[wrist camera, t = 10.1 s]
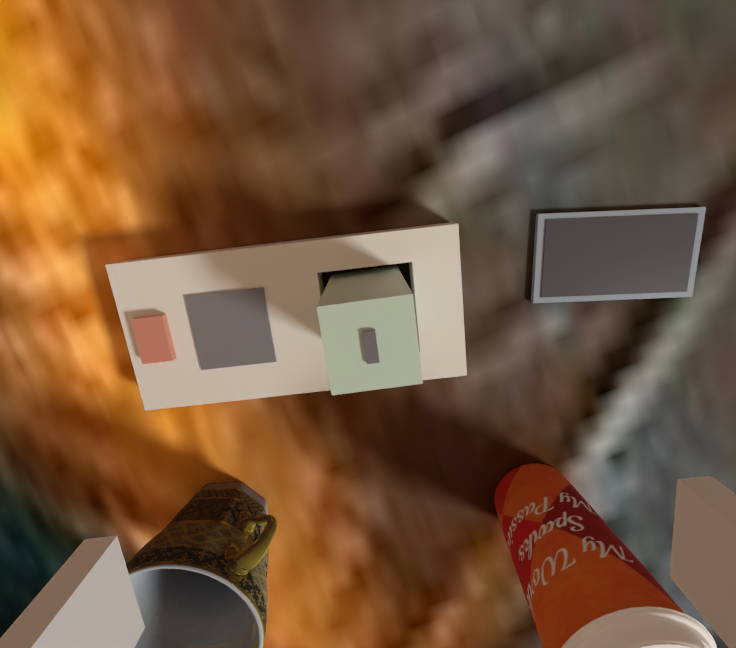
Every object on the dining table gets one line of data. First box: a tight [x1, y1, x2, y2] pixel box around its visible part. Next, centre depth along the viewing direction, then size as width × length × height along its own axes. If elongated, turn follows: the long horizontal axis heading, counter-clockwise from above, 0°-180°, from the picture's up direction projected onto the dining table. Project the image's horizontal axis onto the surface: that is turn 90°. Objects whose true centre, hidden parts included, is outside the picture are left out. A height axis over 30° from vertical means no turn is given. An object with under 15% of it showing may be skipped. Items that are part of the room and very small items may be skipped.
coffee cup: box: [494, 463, 717, 648], centre depth 27 cm, size 8×8×15 cm
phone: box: [531, 207, 706, 303], centre depth 30 cm, size 6×11×1 cm, turn 92°
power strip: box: [105, 222, 467, 411], centre depth 29 cm, size 10×22×3 cm, turn 96°
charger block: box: [317, 265, 423, 395], centre depth 25 cm, size 4×4×10 cm
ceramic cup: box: [126, 482, 277, 648], centre depth 30 cm, size 13×10×10 cm
